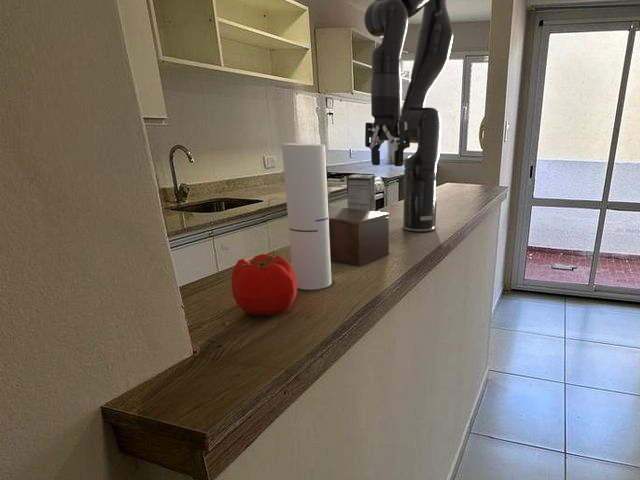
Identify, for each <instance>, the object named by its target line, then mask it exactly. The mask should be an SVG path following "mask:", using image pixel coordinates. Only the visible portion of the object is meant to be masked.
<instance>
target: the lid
mask: <svg viewBox="0 0 640 480" xmlns="http://www.w3.org/2000/svg"><path fill="white" fill-rule="evenodd" d="M327 197H328V218H329V222H335V223H343V224H350V225H357V226H359V225H363V224H366V223H369V222H373V221H376V220H379V219H383V218H386V217H389V216H390V213H389V212H381V211H375V212H374V211H366V210H358V209H350V208H348V207H341V206H335V205H331V206H330V198H331V192H330V191H329V190H327ZM389 218H390V217H389Z"/></svg>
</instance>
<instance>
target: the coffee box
mask: <svg viewBox="0 0 640 480" xmlns="http://www.w3.org/2000/svg"><path fill="white" fill-rule="evenodd" d="M346 196H347V198H346V199H347V208H350V209H358V210H366V211H374V212H376V175H375V174H351V175H350V176H348V177H347V178H346Z"/></svg>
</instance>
